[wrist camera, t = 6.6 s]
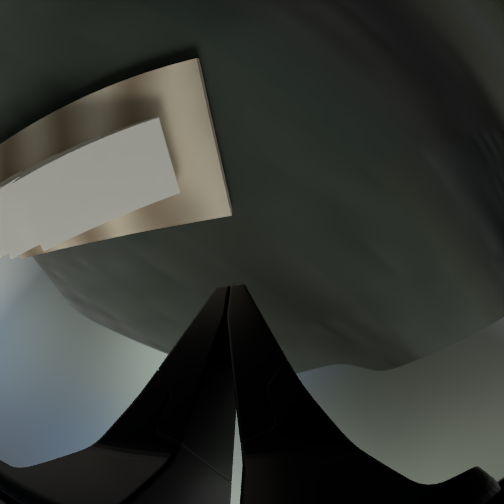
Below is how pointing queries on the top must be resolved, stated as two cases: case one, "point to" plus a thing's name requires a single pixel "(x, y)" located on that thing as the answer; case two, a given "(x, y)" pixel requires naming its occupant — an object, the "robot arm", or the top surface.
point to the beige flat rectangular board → (125, 114)
